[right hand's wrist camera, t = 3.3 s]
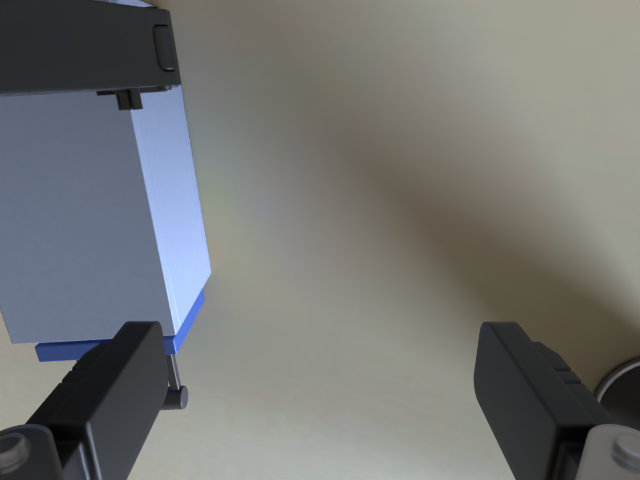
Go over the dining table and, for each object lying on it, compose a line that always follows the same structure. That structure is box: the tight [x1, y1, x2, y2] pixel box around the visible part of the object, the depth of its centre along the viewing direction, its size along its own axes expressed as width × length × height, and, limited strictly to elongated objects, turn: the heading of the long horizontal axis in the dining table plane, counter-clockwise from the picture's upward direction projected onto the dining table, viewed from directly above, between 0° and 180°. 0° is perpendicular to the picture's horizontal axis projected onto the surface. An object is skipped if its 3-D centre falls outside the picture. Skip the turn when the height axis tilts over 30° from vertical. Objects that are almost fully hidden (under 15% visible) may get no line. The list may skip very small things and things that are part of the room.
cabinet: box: [0, 0, 211, 344], centre depth 29 cm, size 19×10×10 cm, turn 4°
